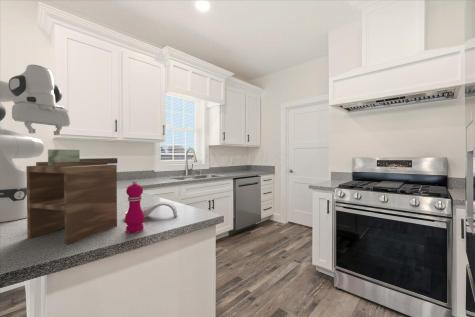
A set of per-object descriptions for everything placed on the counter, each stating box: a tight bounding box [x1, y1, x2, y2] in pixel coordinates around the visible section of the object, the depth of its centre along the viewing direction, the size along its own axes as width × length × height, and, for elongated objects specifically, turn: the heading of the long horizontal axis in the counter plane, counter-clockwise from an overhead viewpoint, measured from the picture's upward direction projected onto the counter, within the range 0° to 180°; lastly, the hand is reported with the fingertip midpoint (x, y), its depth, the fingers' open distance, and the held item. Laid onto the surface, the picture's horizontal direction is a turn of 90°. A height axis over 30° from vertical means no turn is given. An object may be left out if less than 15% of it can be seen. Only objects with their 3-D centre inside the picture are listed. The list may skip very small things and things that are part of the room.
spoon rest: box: [124, 201, 178, 219], centre depth 105 cm, size 24×12×7 cm, turn 100°
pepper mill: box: [124, 179, 146, 234], centre depth 86 cm, size 7×7×20 cm
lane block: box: [47, 149, 118, 166], centre depth 90 cm, size 6×26×6 cm, turn 164°
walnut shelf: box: [25, 161, 118, 245], centre depth 84 cm, size 20×20×28 cm
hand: (45, 134), depth 94 cm, fingers open, 8 cm apart
